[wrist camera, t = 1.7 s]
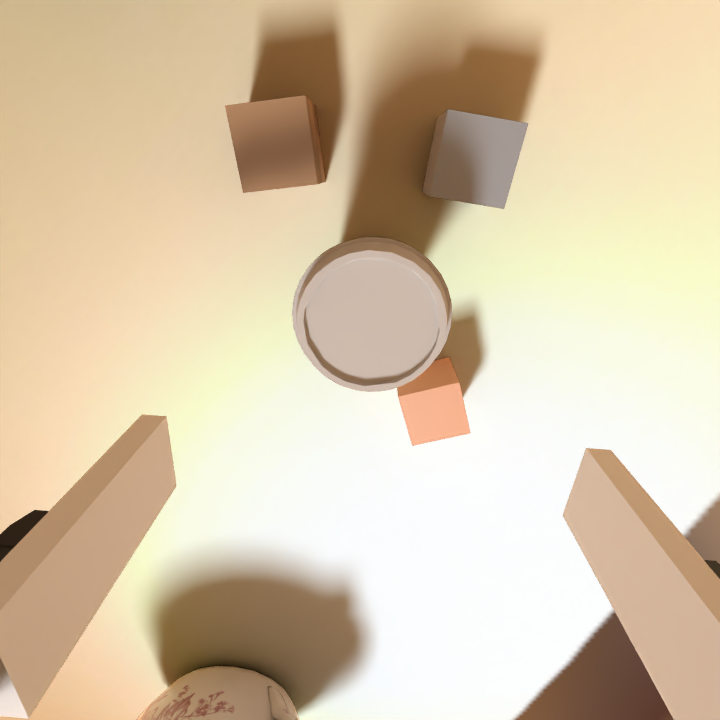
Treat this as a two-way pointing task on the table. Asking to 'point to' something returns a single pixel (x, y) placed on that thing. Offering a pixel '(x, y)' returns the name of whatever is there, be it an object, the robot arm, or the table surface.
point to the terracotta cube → (434, 404)
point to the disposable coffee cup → (372, 313)
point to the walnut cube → (276, 143)
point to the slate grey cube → (473, 158)
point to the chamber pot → (222, 697)
